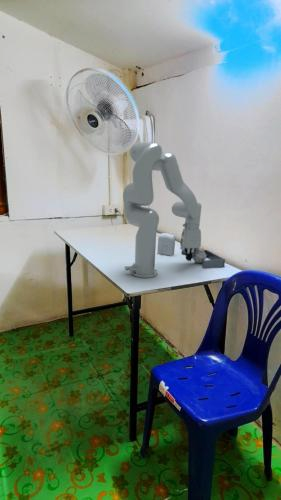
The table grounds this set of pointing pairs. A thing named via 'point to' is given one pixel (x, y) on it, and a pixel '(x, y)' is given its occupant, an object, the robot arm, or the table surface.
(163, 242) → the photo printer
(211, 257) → the chassis bay
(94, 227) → the table surface
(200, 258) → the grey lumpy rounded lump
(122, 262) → the table surface
